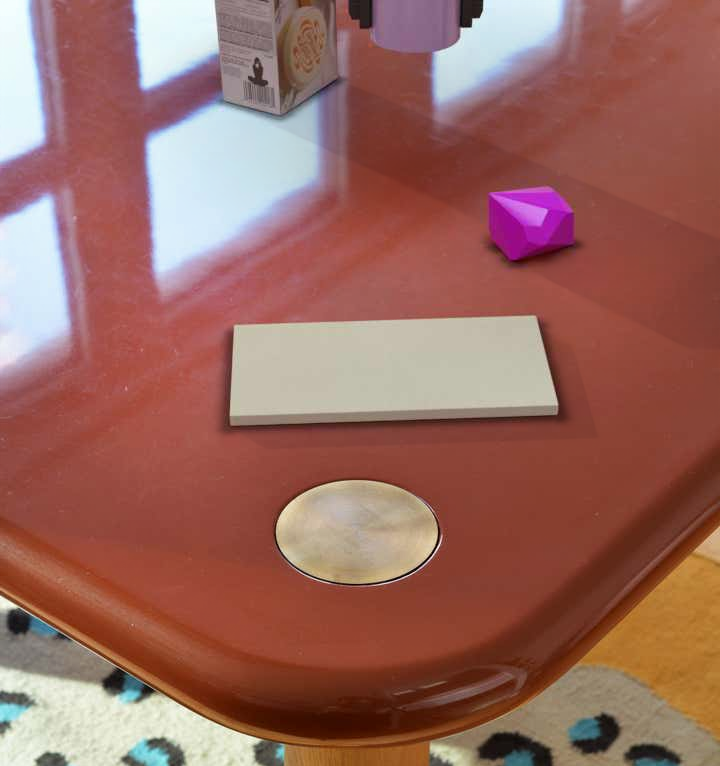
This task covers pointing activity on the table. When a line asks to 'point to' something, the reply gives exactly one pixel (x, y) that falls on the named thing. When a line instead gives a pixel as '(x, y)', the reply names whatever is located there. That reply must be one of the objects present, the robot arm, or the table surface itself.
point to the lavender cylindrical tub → (415, 24)
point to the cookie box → (276, 51)
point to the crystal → (530, 221)
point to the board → (389, 371)
